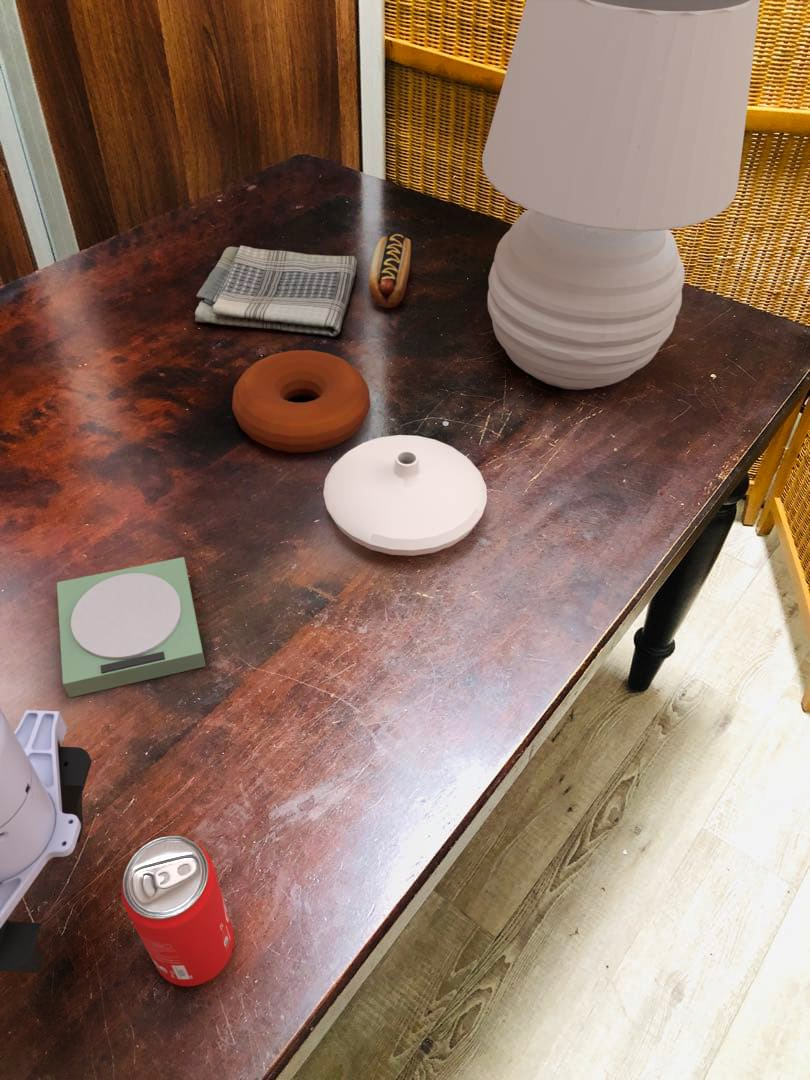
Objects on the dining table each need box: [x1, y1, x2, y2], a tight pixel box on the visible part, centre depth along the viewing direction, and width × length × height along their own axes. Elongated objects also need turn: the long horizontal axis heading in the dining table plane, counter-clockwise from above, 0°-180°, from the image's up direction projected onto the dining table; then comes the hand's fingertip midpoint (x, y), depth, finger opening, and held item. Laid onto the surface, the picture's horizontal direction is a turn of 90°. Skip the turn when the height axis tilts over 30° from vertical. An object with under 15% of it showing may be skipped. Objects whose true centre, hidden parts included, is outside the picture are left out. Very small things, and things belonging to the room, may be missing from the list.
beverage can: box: [120, 835, 235, 987], centre depth 54 cm, size 5×5×12 cm
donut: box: [231, 349, 371, 454], centre depth 94 cm, size 15×15×5 cm
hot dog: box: [368, 231, 412, 309], centre depth 113 cm, size 5×13×5 cm, turn 175°
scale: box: [56, 556, 207, 698], centre depth 75 cm, size 11×11×2 cm
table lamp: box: [481, 0, 761, 391], centre depth 90 cm, size 25×25×40 cm
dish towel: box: [194, 245, 358, 337], centre depth 112 cm, size 19×18×3 cm
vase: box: [323, 434, 488, 557], centre depth 84 cm, size 16×16×7 cm
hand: (45, 897), depth 53 cm, fingers open, 7 cm apart
